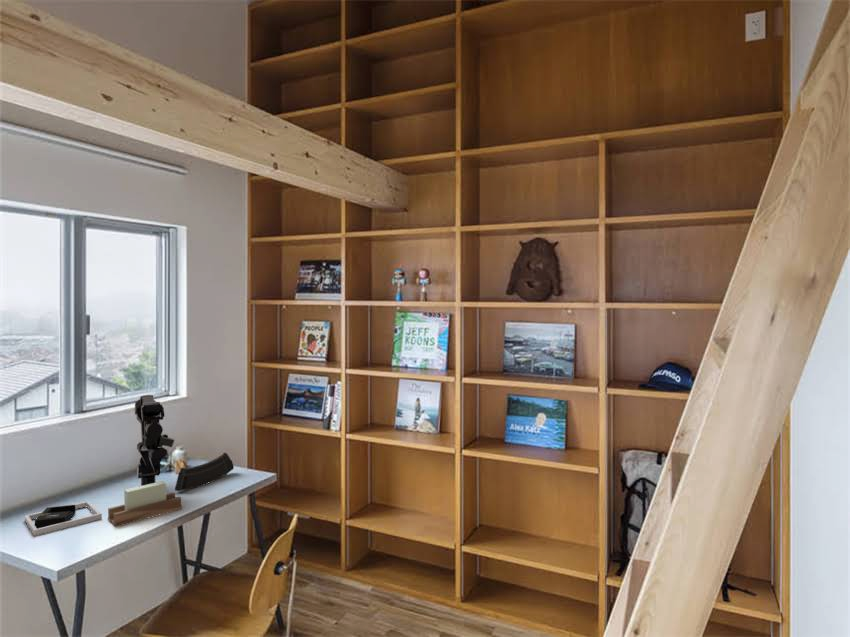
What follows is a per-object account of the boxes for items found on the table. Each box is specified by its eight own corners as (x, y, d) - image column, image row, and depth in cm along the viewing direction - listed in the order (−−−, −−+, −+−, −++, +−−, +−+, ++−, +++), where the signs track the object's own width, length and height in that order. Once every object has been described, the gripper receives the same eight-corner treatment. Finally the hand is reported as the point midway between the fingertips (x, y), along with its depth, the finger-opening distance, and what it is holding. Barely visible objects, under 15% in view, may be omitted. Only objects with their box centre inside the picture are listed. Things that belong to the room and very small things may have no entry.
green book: (124, 515, 201) (124, 489, 201) (162, 505, 211) (162, 481, 211) (127, 518, 199) (127, 492, 198) (166, 507, 209) (166, 483, 208)
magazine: (174, 475, 224) (227, 439, 249) (169, 474, 225) (222, 439, 251) (184, 509, 229) (235, 470, 254) (179, 507, 230) (230, 469, 256)
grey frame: (24, 520, 198) (24, 515, 197) (88, 505, 213) (88, 500, 213) (34, 536, 185) (34, 530, 185) (101, 518, 200) (101, 513, 200)
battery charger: (65, 527, 193) (65, 517, 193) (34, 531, 189) (34, 520, 189) (75, 514, 205) (75, 504, 205) (46, 517, 202) (46, 507, 202)
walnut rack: (107, 519, 199) (107, 508, 199) (173, 502, 217) (173, 492, 217) (115, 526, 193) (115, 514, 193) (181, 508, 210) (181, 497, 210)
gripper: (180, 433, 218) (180, 470, 219) (163, 425, 231) (164, 460, 232) (151, 437, 210) (152, 476, 211) (136, 429, 223) (136, 465, 224)
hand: (152, 469), depth 219 cm, fingers open, 9 cm apart
